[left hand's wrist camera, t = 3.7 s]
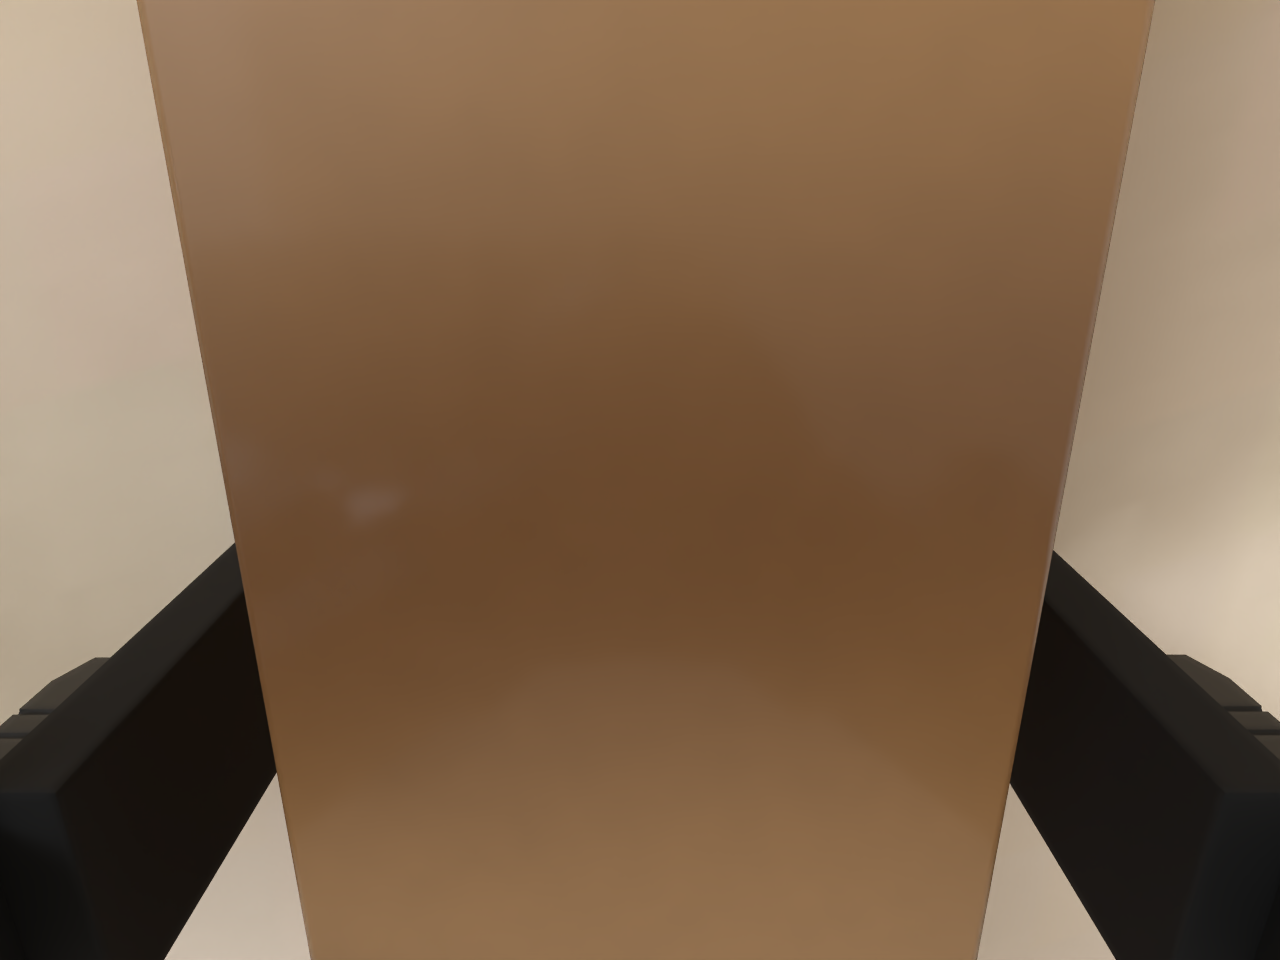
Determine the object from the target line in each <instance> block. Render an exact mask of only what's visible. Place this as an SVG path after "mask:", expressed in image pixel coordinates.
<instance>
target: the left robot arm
mask: <svg viewBox="0 0 1280 960" xmlns="http://www.w3.org/2000/svg"><path fill="white" fill-rule="evenodd" d="M19 710H20V712H19V714H18V715H12V716H11V717H10V718H9V719H8V720H7V721H5V722H4V723H3V724H2V725H1V726H0V960H164V959H165V957H166V955H167V954H168V952H169V950H170V949H171V947H172V945H173V944H174V942H175V941H176V939H177V937H178V936H179V934H180V932H181V931H182V929H183V927H184V926H185V924H186V922H187V921H188V919H189V917H190V916H191V914H192V912H193V911H194V909H195V907H196V906H197V904H198V902H199V901H200V899H201V897H202V896H203V894H204V892H205V891H206V889H207V887H208V886H209V884H210V882H211V881H212V879H213V877H214V876H215V874H216V872H217V871H218V869H219V867H220V866H221V864H222V862H223V861H224V859H225V857H226V856H227V854H228V852H229V851H230V849H231V847H232V846H233V844H234V842H235V841H236V839H237V837H238V836H239V834H240V832H241V831H242V829H243V827H244V826H245V824H246V822H247V821H248V819H249V817H250V816H251V814H252V812H253V811H254V809H255V807H256V806H257V804H258V802H259V801H260V799H261V797H262V796H263V794H264V792H265V791H266V789H267V787H268V786H269V784H270V782H271V781H272V779H273V778H274V776H275V774H276V773H277V770H276V764H275V759H274V753H273V748H272V742H271V737H270V731H269V726H268V720H267V715H266V709H265V704H264V698H263V693H262V687H261V682H260V676H259V671H258V665H257V660H256V654H255V649H254V643H253V638H252V632H251V627H250V621H249V616H248V610H247V605H246V599H245V594H244V588H243V583H242V577H241V572H240V566H239V561H238V555H237V550H236V544H235V543H234V544H233V545H232V546H231V547H230V548H229V549H228V550H226V551H225V552H224V553H223V554H222V555H221V556H220V557H219V558H218V559H217V560H216V561H215V562H213V563H212V564H211V565H210V566H209V567H208V568H207V569H206V570H205V571H204V572H203V573H202V574H200V575H199V576H198V577H197V578H196V579H195V580H194V581H193V582H192V583H191V584H190V585H189V586H188V587H186V588H185V589H184V590H183V591H182V592H181V593H180V594H179V595H178V596H177V597H176V598H175V599H173V600H172V601H171V602H170V603H169V604H168V605H167V606H166V607H165V608H164V609H163V610H162V611H160V612H159V613H158V614H157V615H156V616H155V617H154V618H153V619H152V620H151V621H150V622H149V623H148V624H146V625H145V626H144V627H143V628H142V629H141V630H140V631H139V632H138V633H137V634H136V635H135V636H133V637H132V638H131V639H130V640H129V641H128V642H127V643H126V644H125V645H124V646H123V647H122V648H120V649H119V650H118V651H117V652H116V653H115V654H114V655H113V656H112V657H111V658H94V659H92V660H90V661H88V662H86V663H84V664H83V665H81V666H79V667H77V668H75V669H73V670H71V671H70V672H68V673H66V674H64V675H62V676H60V677H59V678H57V679H55V680H53V681H51V682H50V683H49V684H48V685H47V686H45V687H44V688H43V689H42V690H41V691H40V692H39V693H37V694H36V695H35V696H34V697H33V698H32V699H31V700H29V701H28V702H27V703H26V704H25V705H24V706H23V707H21V708H20V709H19ZM1010 784H1011V786H1012V788H1013V789H1014V791H1015V793H1016V794H1017V796H1018V797H1019V799H1020V801H1021V802H1022V804H1023V806H1024V807H1025V809H1026V811H1027V812H1028V814H1029V816H1030V817H1031V819H1032V821H1033V822H1034V824H1035V826H1036V827H1037V829H1038V831H1039V832H1040V834H1041V836H1042V837H1043V839H1044V841H1045V842H1046V844H1047V846H1048V847H1049V849H1050V851H1051V852H1052V854H1053V856H1054V857H1055V859H1056V861H1057V862H1058V864H1059V866H1060V867H1061V869H1062V871H1063V872H1064V874H1065V876H1066V877H1067V879H1068V881H1069V882H1070V884H1071V886H1072V887H1073V889H1074V891H1075V892H1076V894H1077V896H1078V897H1079V899H1080V901H1081V902H1082V904H1083V906H1084V907H1085V909H1086V911H1087V912H1088V914H1089V916H1090V917H1091V919H1092V921H1093V922H1094V924H1095V926H1096V927H1097V929H1098V931H1099V932H1100V934H1101V936H1102V937H1103V939H1104V941H1105V942H1106V944H1107V946H1108V947H1109V949H1110V951H1111V952H1112V954H1113V956H1114V957H1115V959H1116V960H1280V722H1279V721H1278V720H1277V719H1276V718H1275V717H1273V716H1272V715H1271V714H1270V713H1269V712H1263V711H1262V709H1261V705H1260V704H1258V703H1257V702H1256V701H1255V700H1254V699H1253V698H1252V697H1250V696H1249V695H1248V694H1247V693H1246V692H1245V691H1243V690H1242V689H1241V688H1240V687H1239V686H1238V685H1237V684H1235V683H1234V682H1233V681H1232V680H1231V679H1230V678H1228V677H1226V676H1224V675H1222V674H1220V673H1219V672H1217V671H1215V670H1213V669H1211V668H1209V667H1207V666H1206V665H1204V664H1202V663H1200V662H1198V661H1196V660H1194V659H1192V658H1191V657H1189V656H1187V655H1166V654H1165V653H1164V652H1163V651H1162V650H1161V649H1159V648H1158V647H1157V646H1156V645H1155V644H1154V643H1153V642H1152V641H1151V640H1150V639H1149V638H1148V637H1147V636H1145V635H1144V634H1143V633H1142V632H1141V631H1140V630H1139V629H1138V628H1137V627H1136V626H1135V625H1134V624H1132V623H1131V622H1130V621H1129V620H1128V619H1127V618H1126V617H1125V616H1124V615H1123V614H1122V613H1121V612H1119V611H1118V610H1117V609H1116V608H1115V607H1114V606H1113V605H1112V604H1111V603H1110V602H1109V601H1108V600H1107V599H1105V598H1104V597H1103V596H1102V595H1101V594H1100V593H1099V592H1098V591H1097V590H1096V589H1095V588H1094V587H1092V586H1091V585H1090V584H1089V583H1088V582H1087V581H1086V580H1085V579H1084V578H1083V577H1082V576H1081V575H1079V574H1078V573H1077V572H1076V571H1075V570H1074V569H1073V568H1072V567H1071V566H1070V565H1069V564H1068V563H1067V562H1065V561H1064V560H1063V559H1062V558H1061V557H1060V556H1059V555H1058V554H1057V553H1056V552H1055V551H1054V550H1053V552H1052V557H1051V563H1050V568H1049V573H1048V579H1047V584H1046V590H1045V595H1044V600H1043V606H1042V611H1041V617H1040V622H1039V627H1038V633H1037V638H1036V643H1035V649H1034V654H1033V660H1032V665H1031V670H1030V676H1029V681H1028V686H1027V692H1026V697H1025V703H1024V708H1023V713H1022V719H1021V724H1020V730H1019V735H1018V740H1017V746H1016V751H1015V756H1014V762H1013V767H1012V773H1011V778H1010Z"/></svg>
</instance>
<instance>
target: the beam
mask: <svg viewBox="0 0 1280 960" xmlns="http://www.w3.org/2000/svg"><path fill="white" fill-rule="evenodd" d="M1154 3H1155V0H137V5H138V10H139V16H140V21H141V27H142V32H143V38H144V43H145V49H146V54H147V60H148V65H149V71H150V76H151V82H152V87H153V93H154V98H155V104H156V109H157V115H158V120H159V126H160V131H161V137H162V142H163V148H164V153H165V159H166V164H167V170H168V175H169V181H170V186H171V192H172V197H173V203H174V208H175V214H176V219H177V225H178V230H179V236H180V241H181V247H182V252H183V258H184V263H185V269H186V274H187V280H188V285H189V291H190V296H191V302H192V307H193V313H194V318H195V324H196V330H197V335H198V341H199V346H200V352H201V357H202V363H203V368H204V374H205V379H206V385H207V390H208V396H209V401H210V407H211V412H212V418H213V423H214V429H215V434H216V440H217V445H218V451H219V456H220V462H221V467H222V473H223V478H224V484H225V489H226V495H227V500H228V506H229V511H230V517H231V522H232V528H233V533H234V539H235V544H236V550H237V555H238V561H239V566H240V572H241V577H242V583H243V588H244V594H245V599H246V605H247V610H248V616H249V621H250V627H251V632H252V638H253V643H254V649H255V654H256V660H257V665H258V671H259V676H260V682H261V687H262V693H263V698H264V704H265V709H266V715H267V720H268V726H269V731H270V737H271V742H272V748H273V753H274V759H275V764H276V770H277V775H278V781H279V786H280V792H281V797H282V803H283V808H284V814H285V819H286V825H287V830H288V836H289V841H290V847H291V852H292V858H293V863H294V869H295V874H296V880H297V885H298V891H299V896H300V902H301V907H302V913H303V918H304V924H305V929H306V935H307V940H308V946H309V951H310V957H311V960H977V955H978V950H979V945H980V939H981V934H982V929H983V923H984V918H985V912H986V907H987V902H988V896H989V891H990V886H991V880H992V875H993V869H994V864H995V859H996V853H997V848H998V843H999V837H1000V832H1001V826H1002V821H1003V816H1004V810H1005V805H1006V799H1007V794H1008V789H1009V783H1010V778H1011V773H1012V767H1013V762H1014V756H1015V751H1016V746H1017V740H1018V735H1019V730H1020V724H1021V719H1022V713H1023V708H1024V703H1025V697H1026V692H1027V686H1028V681H1029V676H1030V670H1031V665H1032V660H1033V654H1034V649H1035V643H1036V638H1037V633H1038V627H1039V622H1040V617H1041V611H1042V606H1043V600H1044V595H1045V590H1046V584H1047V579H1048V573H1049V568H1050V563H1051V557H1052V552H1053V547H1054V541H1055V536H1056V530H1057V525H1058V520H1059V514H1060V509H1061V504H1062V498H1063V493H1064V487H1065V482H1066V477H1067V471H1068V466H1069V460H1070V455H1071V450H1072V444H1073V439H1074V434H1075V428H1076V423H1077V417H1078V412H1079V407H1080V401H1081V396H1082V391H1083V385H1084V380H1085V374H1086V369H1087V364H1088V358H1089V353H1090V347H1091V342H1092V337H1093V331H1094V326H1095V321H1096V315H1097V310H1098V304H1099V299H1100V294H1101V288H1102V283H1103V278H1104V272H1105V267H1106V261H1107V256H1108V251H1109V245H1110V240H1111V234H1112V229H1113V224H1114V218H1115V213H1116V208H1117V202H1118V197H1119V191H1120V186H1121V181H1122V175H1123V170H1124V165H1125V159H1126V154H1127V148H1128V143H1129V138H1130V132H1131V127H1132V121H1133V116H1134V111H1135V105H1136V100H1137V95H1138V89H1139V84H1140V78H1141V73H1142V68H1143V62H1144V57H1145V52H1146V46H1147V41H1148V35H1149V30H1150V25H1151V19H1152V14H1153V8H1154Z"/></svg>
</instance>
